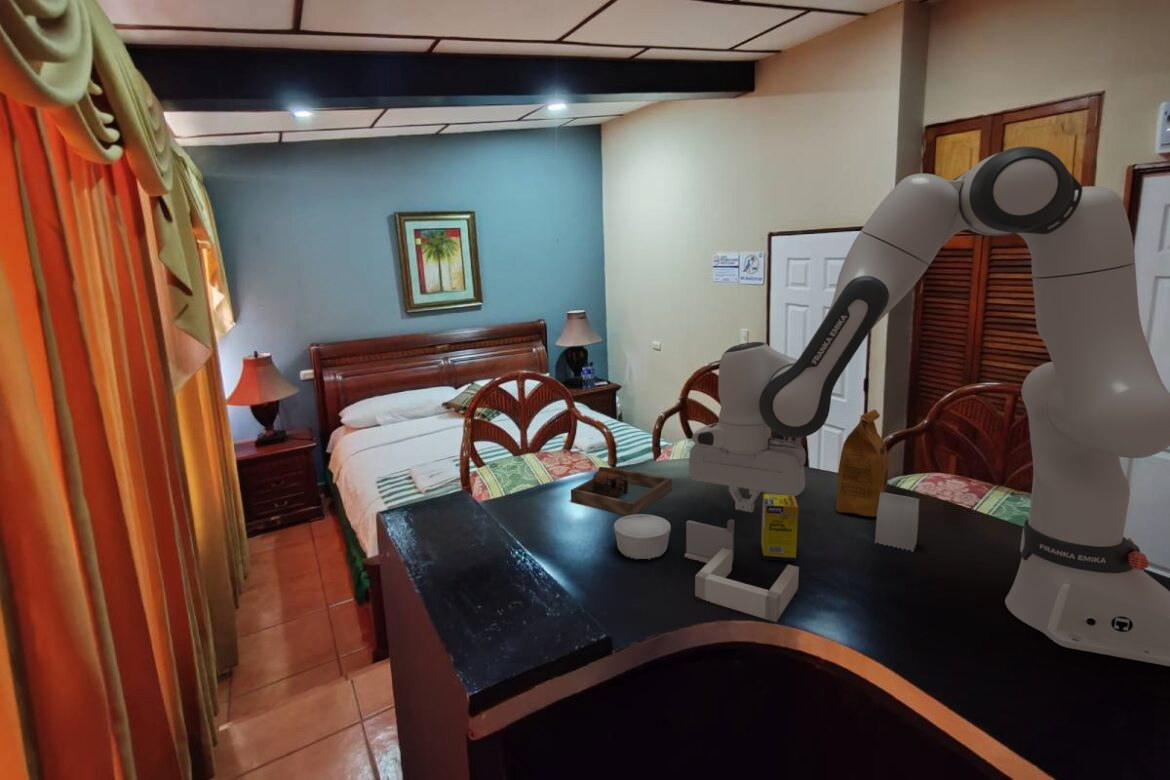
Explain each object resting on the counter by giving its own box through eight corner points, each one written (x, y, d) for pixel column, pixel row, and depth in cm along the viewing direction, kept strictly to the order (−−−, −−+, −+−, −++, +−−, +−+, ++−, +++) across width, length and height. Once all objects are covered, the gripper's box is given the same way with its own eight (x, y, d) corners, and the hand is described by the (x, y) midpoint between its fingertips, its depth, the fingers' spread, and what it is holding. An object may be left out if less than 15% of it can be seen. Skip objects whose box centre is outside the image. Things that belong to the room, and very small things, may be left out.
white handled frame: (802, 581, 105) (803, 560, 104) (776, 622, 94) (777, 598, 93) (690, 552, 117) (690, 532, 116) (654, 584, 106) (654, 563, 105)
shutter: (733, 560, 112) (734, 519, 110) (730, 563, 110) (731, 522, 109) (688, 548, 117) (689, 509, 115) (685, 551, 116) (685, 512, 114)
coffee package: (893, 505, 137) (900, 411, 132) (876, 523, 128) (884, 422, 123) (847, 495, 143) (853, 405, 139) (829, 512, 134) (834, 416, 130)
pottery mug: (580, 496, 149) (589, 464, 151) (612, 507, 152) (621, 475, 154) (602, 499, 138) (612, 465, 140) (636, 511, 142) (645, 477, 143)
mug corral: (671, 490, 150) (671, 478, 149) (632, 516, 134) (632, 504, 134) (613, 478, 159) (613, 467, 159) (571, 501, 144) (570, 490, 143)
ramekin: (656, 533, 126) (656, 510, 125) (681, 557, 115) (681, 531, 114) (606, 542, 123) (605, 518, 122) (626, 567, 112) (626, 541, 111)
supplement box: (796, 562, 112) (799, 506, 110) (763, 559, 113) (765, 505, 111) (792, 547, 118) (794, 494, 116) (760, 545, 119) (762, 493, 117)
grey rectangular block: (913, 551, 115) (917, 502, 113) (874, 543, 119) (878, 495, 117) (916, 544, 118) (920, 496, 116) (878, 536, 122) (882, 489, 120)
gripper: (811, 437, 102) (809, 514, 105) (698, 425, 114) (700, 494, 116) (800, 447, 97) (799, 527, 99) (684, 433, 108) (685, 506, 111)
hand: (744, 510), depth 108 cm, fingers closed
